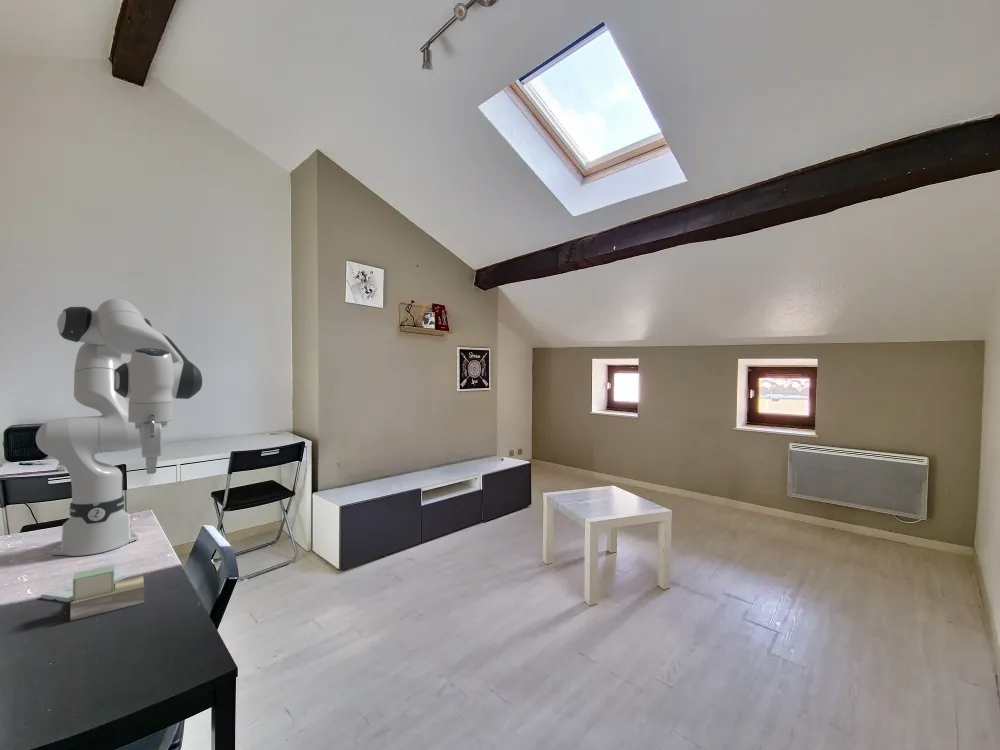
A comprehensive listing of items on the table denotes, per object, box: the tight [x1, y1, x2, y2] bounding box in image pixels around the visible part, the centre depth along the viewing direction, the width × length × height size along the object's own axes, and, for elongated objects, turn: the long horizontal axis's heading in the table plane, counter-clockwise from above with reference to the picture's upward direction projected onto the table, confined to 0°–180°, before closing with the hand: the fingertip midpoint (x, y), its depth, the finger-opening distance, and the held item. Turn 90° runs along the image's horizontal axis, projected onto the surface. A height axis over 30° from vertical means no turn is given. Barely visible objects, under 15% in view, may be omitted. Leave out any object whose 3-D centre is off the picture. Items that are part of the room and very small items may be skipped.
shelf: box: [69, 575, 145, 622], centre depth 100 cm, size 12×12×4 cm
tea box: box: [72, 564, 115, 602], centre depth 97 cm, size 4×6×6 cm, turn 130°
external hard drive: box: [40, 572, 126, 603], centre depth 106 cm, size 2×8×12 cm
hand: (150, 469), depth 109 cm, fingers open, 8 cm apart
